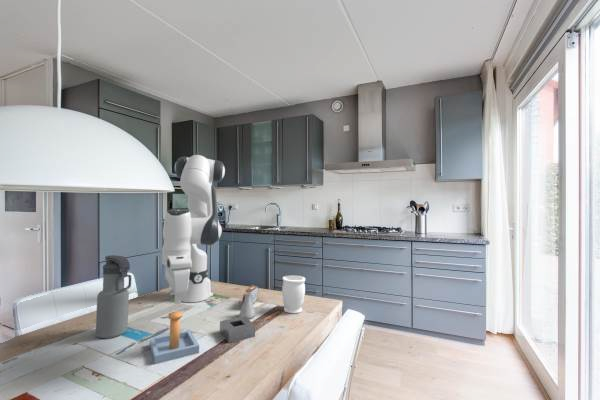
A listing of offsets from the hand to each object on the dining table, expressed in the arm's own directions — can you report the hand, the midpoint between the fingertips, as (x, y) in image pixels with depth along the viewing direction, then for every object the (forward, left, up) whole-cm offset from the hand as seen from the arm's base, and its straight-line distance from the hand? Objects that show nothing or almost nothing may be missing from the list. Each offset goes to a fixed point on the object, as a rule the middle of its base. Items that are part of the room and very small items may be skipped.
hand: (174, 298), depth 96 cm
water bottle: (-23, -17, -17) cm, 33 cm away
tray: (0, 0, -17) cm, 17 cm away
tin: (-26, +39, -17) cm, 50 cm away
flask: (-14, +32, -17) cm, 39 cm away
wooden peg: (0, 0, -16) cm, 16 cm away
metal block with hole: (0, +22, -17) cm, 28 cm away
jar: (-10, +53, -17) cm, 57 cm away
